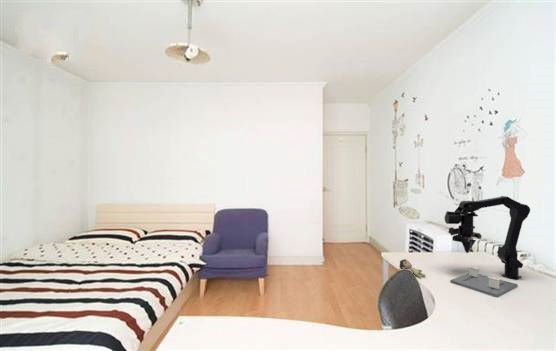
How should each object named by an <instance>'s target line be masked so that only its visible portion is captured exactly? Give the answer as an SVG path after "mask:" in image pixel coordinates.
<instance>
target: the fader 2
mask: <svg viewBox="0 0 556 351" xmlns="http://www.w3.org/2000/svg"><path fill="white" fill-rule="evenodd" d="M497 278H498V277H492V276H491V277H488V279H489V287H492V288H496V289H499V280H501V279H499V278H498V279H497Z"/></svg>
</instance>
